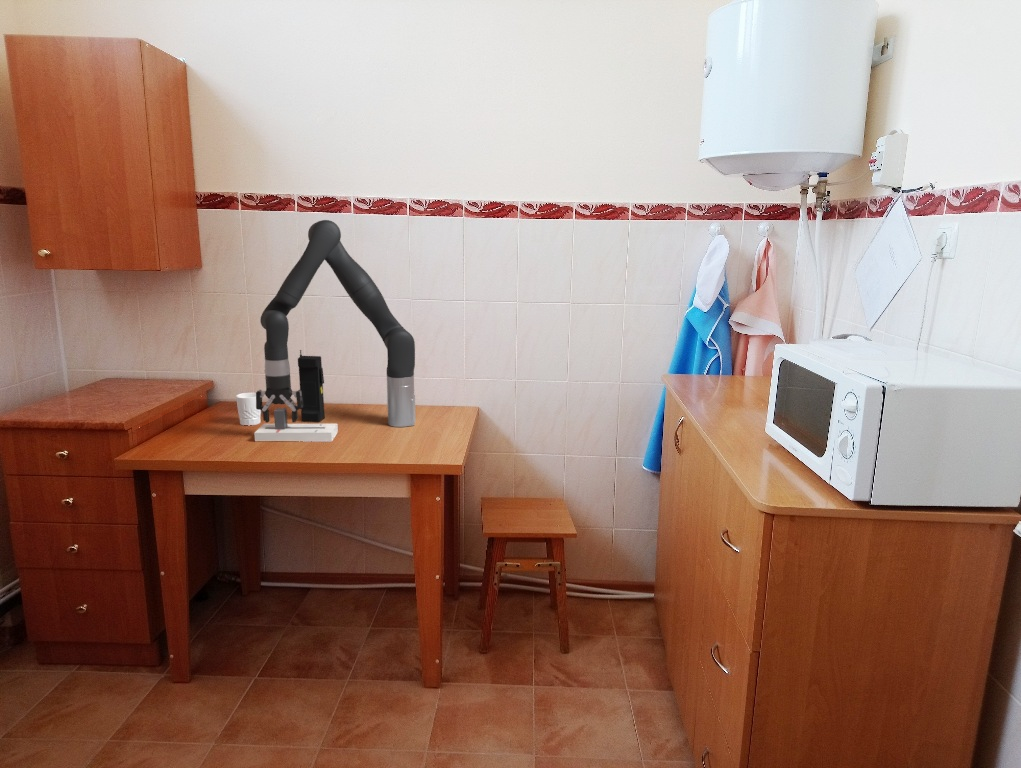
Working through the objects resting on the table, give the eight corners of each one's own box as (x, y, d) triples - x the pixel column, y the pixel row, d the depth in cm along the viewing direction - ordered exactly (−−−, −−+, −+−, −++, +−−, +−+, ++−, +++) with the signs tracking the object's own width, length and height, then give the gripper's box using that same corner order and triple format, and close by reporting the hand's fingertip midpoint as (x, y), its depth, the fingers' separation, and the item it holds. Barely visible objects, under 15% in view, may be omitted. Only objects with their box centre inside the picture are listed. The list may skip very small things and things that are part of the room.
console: (337, 432, 229) (337, 423, 228) (331, 441, 219) (331, 431, 219) (264, 432, 228) (263, 423, 227) (255, 441, 218) (254, 432, 217)
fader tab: (287, 425, 224) (286, 408, 223) (284, 429, 221) (283, 411, 220) (278, 425, 224) (277, 408, 223) (275, 429, 221) (273, 411, 219)
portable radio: (328, 417, 246) (325, 348, 240) (322, 422, 240) (318, 351, 234) (307, 417, 246) (303, 348, 241) (300, 421, 241) (296, 351, 235)
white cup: (261, 425, 235) (259, 397, 233) (236, 427, 234) (234, 398, 231) (263, 419, 243) (261, 391, 241) (239, 420, 241) (237, 392, 239)
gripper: (303, 370, 222) (306, 418, 226) (258, 370, 222) (261, 418, 225) (297, 375, 215) (300, 425, 219) (251, 375, 214) (254, 425, 218)
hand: (280, 421), depth 222 cm, fingers open, 8 cm apart
